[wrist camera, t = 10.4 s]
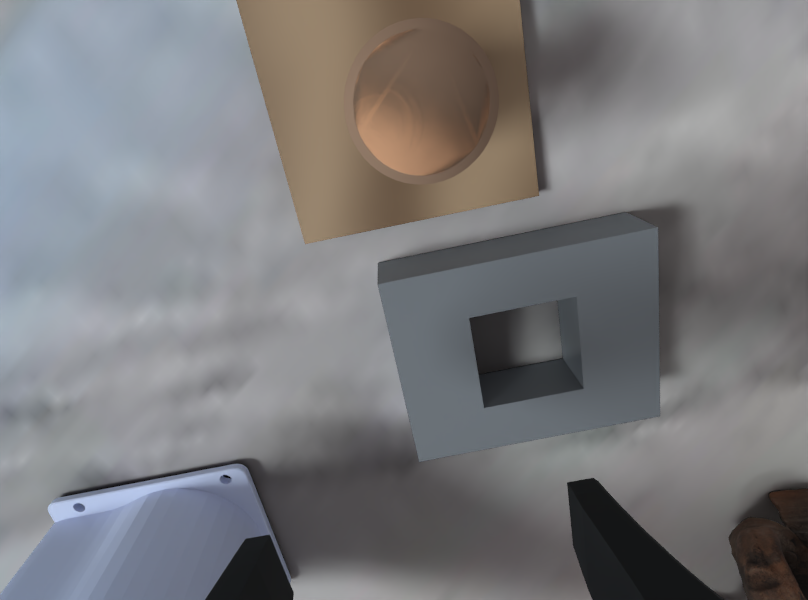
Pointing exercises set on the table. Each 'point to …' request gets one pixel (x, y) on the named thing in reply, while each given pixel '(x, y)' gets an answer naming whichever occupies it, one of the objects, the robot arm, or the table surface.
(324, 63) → the coaster
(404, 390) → the socket
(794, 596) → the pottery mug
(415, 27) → the plug
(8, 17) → the table surface
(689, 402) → the table surface
